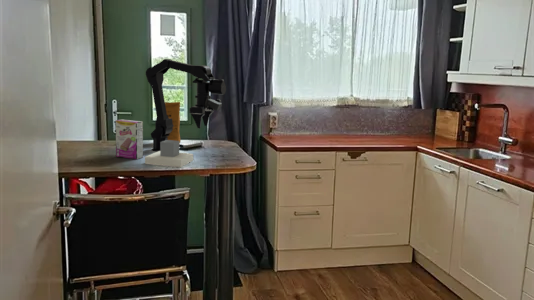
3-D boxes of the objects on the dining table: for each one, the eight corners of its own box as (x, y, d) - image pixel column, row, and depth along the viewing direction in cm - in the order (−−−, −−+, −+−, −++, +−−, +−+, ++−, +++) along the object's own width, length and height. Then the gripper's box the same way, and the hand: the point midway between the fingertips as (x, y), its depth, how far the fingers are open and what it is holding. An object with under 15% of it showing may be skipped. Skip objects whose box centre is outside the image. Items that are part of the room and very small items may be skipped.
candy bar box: (115, 157, 207) (114, 120, 203) (122, 155, 211) (121, 119, 208) (137, 159, 203) (136, 122, 200) (143, 157, 208) (143, 121, 205)
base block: (145, 163, 196) (145, 156, 196) (159, 157, 210) (159, 150, 209) (180, 167, 193) (180, 160, 192) (193, 160, 206) (193, 153, 206)
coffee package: (158, 141, 247) (158, 100, 243) (181, 142, 247) (182, 101, 243) (154, 145, 237) (154, 101, 233) (179, 146, 238) (179, 102, 234)
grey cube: (160, 156, 198) (160, 142, 197) (166, 153, 204) (166, 139, 203) (173, 157, 197) (173, 143, 196) (179, 154, 203) (179, 140, 202)
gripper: (213, 95, 204) (212, 131, 207) (225, 93, 222) (225, 125, 225) (189, 94, 206) (188, 129, 209) (203, 91, 224) (203, 124, 227)
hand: (202, 127), depth 218 cm, fingers open, 9 cm apart
